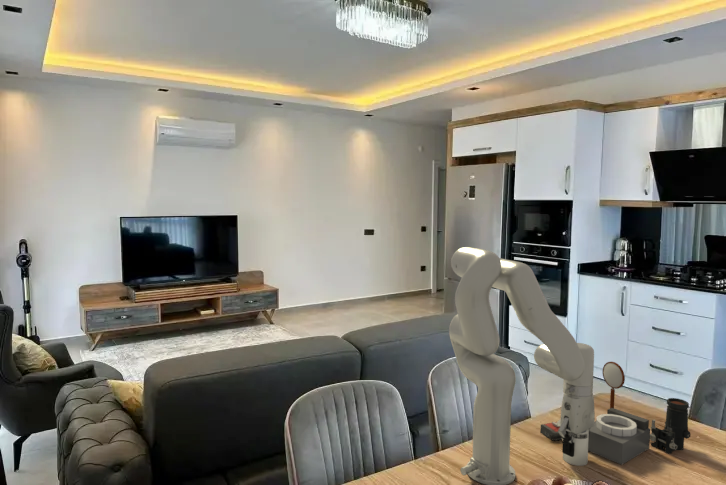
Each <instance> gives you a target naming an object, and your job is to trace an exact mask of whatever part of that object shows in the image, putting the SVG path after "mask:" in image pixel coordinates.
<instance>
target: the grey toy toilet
mask: <svg viewBox="0 0 726 485" xmlns="http://www.w3.org/2000/svg"><path fill="white" fill-rule="evenodd" d="M606 412H607V413H602V414H599V415H597V416H596V417H595V418H596V420H595V421H594V426H593V427H592V428H590V434H589V446H588V452H590V453H593V454H596V455H597V456H600V457H602V458H605V459H606V460H610V461H612V462H614V463H616V464H618V465H621V466H622V465H624V464H626V463H627V462H630V461H631V460H632V459H634V458H636V457H637V456H639V455H640V454H643V453H644V452H646V451H649V449H650V446H651V442H650V441H651V440H650V434H651V427H650V426H649V425H650V420H649V419H647V418H644V417H640V416H638V415H635V414H632V413H629V412H626V411H623V410H621V409H617V408H615V407H614V408H610V407H609V408H608V409H607V410H606Z"/></svg>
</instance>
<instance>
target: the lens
mask: <svg viewBox="0 0 726 485" xmlns="http://www.w3.org/2000/svg"><path fill="white" fill-rule="evenodd" d="M568 429H569V430H571V429H570V427H568ZM567 434H568V435H569V437H570V435H571V433H570V432H568V431H567ZM588 439H589V430H586V431H583V432H581V433H579V434H575V436H574V440H573V442H574V456H573V457H571V456H569V455H566V454H564V453H563V452H562V460H563V461H564V462H566V463H567V464H570V465H573V466H578V467H581V466H586V465H587V464H588V461H589V460H588V459H589V451H588Z"/></svg>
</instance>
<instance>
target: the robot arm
mask: <svg viewBox="0 0 726 485" xmlns="http://www.w3.org/2000/svg"><path fill="white" fill-rule="evenodd" d="M450 266H451V269H452V271H453V272H454V274H455V275H457V277H460V280H459V283H458V285H457V287H456V290H455V294H454V303H455V308H456V309H455V310H456V312H457V314H455V315H454V316H453V317H452V319H451V321H450V322H449V323H450V324H449V328H448V333H449V334H448V335H449V339H450V342H451V345H452V349H453V353H454V355H455V359H456V361H457V364H458V368H459V369H460V371H461V374H462V375H463V376H464V377H465V378H466V379H467V380H469V381H470V382H472V383H473V384H474V385H476V386H477V389H478V390H477V393H476V396H475V399H474V401H473V402H474V403H473V411H472V413H473V419H472V420H473V421H472V423H473V426H472V428H473V429H472V457H469V461H468V462H467V463H466V465H464V466H462V467H460V473H461V475H463V476H466V475H468V476H469V477H470V478H471V479H472V480H473V481H475V482H478V483H480V484H483V485H509V484H511V483H513V482H514V480H515V479H516V470H515V468H514V467H513V466H512V465H511V464H510V462H511V461H510V456H511V424H512V423H511V422H512V420H511V419H512V418H511V416H512V401H513V394H514V390H515V388H516V387H515V386H516V383H517V382H516V378H517V377H516V373H515V372H516V371H515V369H514V368H513V367H512V365H511V364H510V363H509V362H508V361H507V360H505V359H504V358H503V357H500V356H499V355H497V354H495V353H496V352H497V350H499V346H500V340H501V339H500V334H499V331H498V327H497V325H496V322H495V317H494V314H493V312H492V311H493V310H492V307H491V303H490V292H491V290H492V288H494V289H498V290H501V291H504V292H505V293H506V295H507V298H508V299H509V302H510V303H511V306H512V308H513V310H514V312H515V314H516V317H517V318H518V321H519V322H520V324H521V325H522V326H523V327H524V328H525V329H526V330H527V331H529V333H530V334H532V335H533V336H535V337H536V338H537V339H538V340H539V341H541V342H542V344H540V345H538V346H537V347H536V348H535V350H534V353H533V359H534V362H535V363H536V365H537V366H538V367H539V368H541V369H543V370H545V371H547V372H548V373H551V374H553V375H554V376H557V377H559V378H560V379H563V380H562V381H563V384H562V385H563V386H562V392H563V395H562V401H561V409H560V419H561V420H560V419H559V420H560V422H561V426H560V428H559V430H558V432H559V434H560V436H561V437H562V439H561V440H562V448H561V449H562V454H563V453H564V454H566V455H569V456H571V457H573V456H574V442H573V440H574V436H575V434H579V433H581V432H583V431H586V430H589V434H590V428H592V427H593V426H594V422H595V421H596V420H595V418H596V417H595V399H594V398H595V397H594V392H593V391H594V372H595V371H594V366H595V350H594V348H593V347H592V346H591V345H589V344H587V343H582V342H577V341H576V339H575V337H574V336H573V335H572V333H571V331H570V330H569V329H568V328H567V327H566V326H565V325H564V324H563V321H562V322H561V319H560V318H559V317H557V315H556V314H555V313H554V311H552V309H551V307H550V306H549V303H548V301H547V299H546V296H545V295H544V292H543V290H542V288H541V286H540V283H539V282H538V280H537V277H536V275H535V273H534V271H533V269H532V268H531V267H530V266H529V264H526V263H525V262H524V263H523V262H521V261H517V260H511V259H507V258H506V259H505V258H501V257H499V256H498V255H497V253H495V252H493V251H491V250H488V249H484V248H476V247H470V246H465V247H460V248H458V249H457V250H456V251H455V252H454V253H453V254H452V257H451V259H450ZM568 427H570V429H571V430H569V429H568ZM567 431H568V432H570V433H571V435H570V437H569V435H568V434H567ZM588 446H589V439H588Z"/></svg>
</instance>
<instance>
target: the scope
mask: <svg viewBox="0 0 726 485" xmlns="http://www.w3.org/2000/svg"><path fill="white" fill-rule="evenodd" d="M666 404H667V406H666V407H667V408H666V412H665V413H666V414H665V422H664V427H663V429H661V428H658V427H656V419H651V426H650V441H651V442H650V446H651V447H653V448H655V450H656V449H658V448H659V450H661V451H664V452H665V454H667V455H670V454H673V452H675V451H683V450H684V448H685V439H689V438H691V432H690V430H689V410H688V409H689V407H690V403H689V402H688V401H686V400H684V399H681V398H677V397H676V398H675V397H670V398H667V399H666Z"/></svg>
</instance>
